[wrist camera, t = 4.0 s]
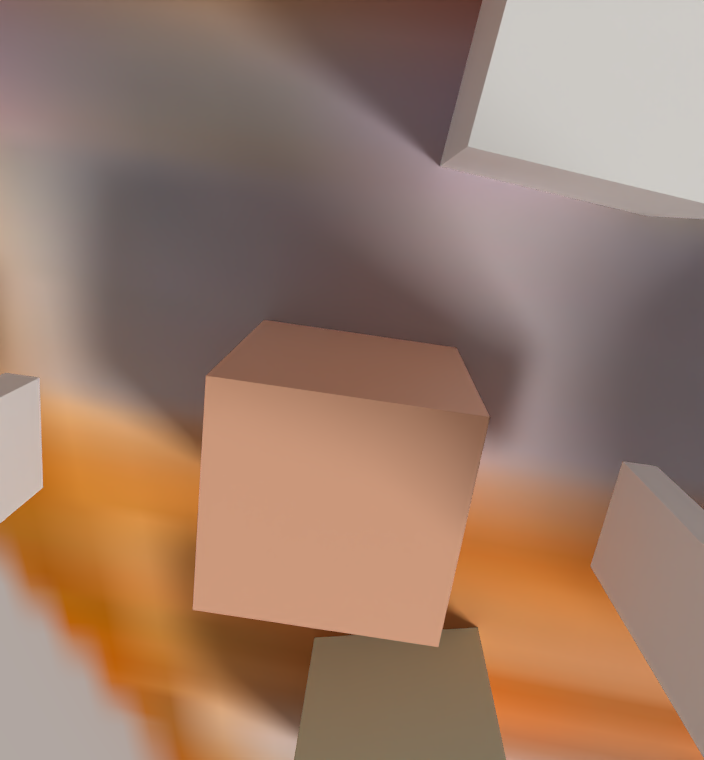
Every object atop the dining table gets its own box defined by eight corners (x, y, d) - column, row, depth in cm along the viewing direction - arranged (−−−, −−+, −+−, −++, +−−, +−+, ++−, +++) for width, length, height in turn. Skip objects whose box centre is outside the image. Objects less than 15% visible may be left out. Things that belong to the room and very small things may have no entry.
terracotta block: (264, 319, 15) (205, 375, 10) (455, 346, 15) (489, 416, 10) (249, 489, 16) (193, 609, 11) (423, 515, 16) (438, 647, 11)
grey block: (503, -83, 12) (581, -278, 7) (735, -27, 12) (970, -183, 7) (439, 166, 13) (467, 146, 9) (644, 216, 13) (787, 223, 9)
